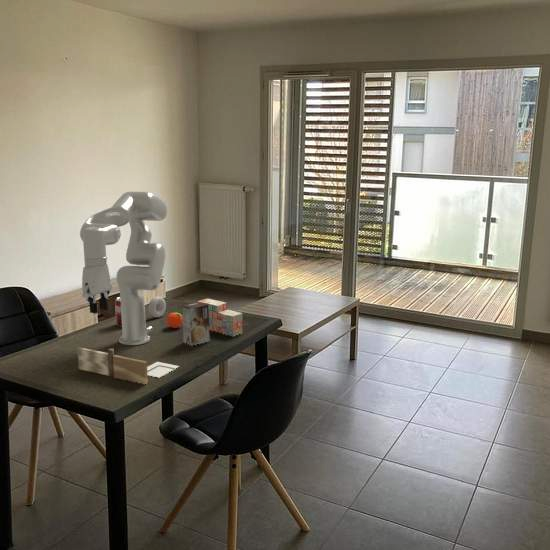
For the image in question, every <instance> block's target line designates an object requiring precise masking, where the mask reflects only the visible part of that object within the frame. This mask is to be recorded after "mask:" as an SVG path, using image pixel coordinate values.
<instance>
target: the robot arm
mask: <svg viewBox="0 0 550 550" xmlns="http://www.w3.org/2000/svg"><path fill="white" fill-rule="evenodd" d="M167 213H168V207H167V205H166V203H165V201H163V200H162V199H161V198H160V197H158V195H156V194H154V193H153V192H148V191H127V192H124V193H122V195H121V196H120V197H119V198H118V199H117V200H116V201H115V202H114V203H113V204H112V206H111V207H109V208H106V209H104V210H102V211H99V212H95V213H94V214H93V215H91V216H89V218H87V219H86V220H85V222H84V223H83V224H82V225H81V228H80V231H79V235H80V239H81V241H82V243H83V258H84V259H83V260H84V266H83V269H82V275H81V276H82V277H81V279H82V280H81V282H82V283H81V286H82V288H81V289H82V298H83V299H85V300H86V301H87V303H88V304H89V313H90V314H98V313H99V311H98V309H99V310H102V311H103V310H104V311H108V307H109V306H108V299H109V295H110V293H111V291H112V289H113V286H112V285H111V276H110V270H109V266H108V261H107V259H108V257H107V247H106V246H111V245H115V244H117V243H118V242H119V241H120V239H121V237H122V235H121V234H122V233H121V229H120V227H122V226H123V227H124V226H125V225H127V224H128V223H129V228H130V236H129V240H128V244H127V249H126V253H125V259H126V261H127V263H129V264H130V265H126V266H125V265H124V266H122V267H120V268H119V269H117V272H116V282H117V286H118V290H119V298H120V300H121V316H122V327H121V328H122V329H121V330H122V331H121V333H122V335H121V336H120V337H119V338H118V342H119V343H120V344H122V345H125V346H138V345H139V346H140V345H143V344H147V343H148V342H150V341H151V336H150V335H149V334H148V333H149V332H151V331H153V327H152V326H151V325H150V326H147V323H146V308H145V307H146V305H145V297H144V295H143V293H142V292H141V291H155V290H157V289H158V288H159V286H160V284H161V279H162V275H163V270H164V266H165V261H166V250H165V248H164V246H163V244H161V243H158V242H151V241H152V235H153V234H152V231H151V229H150V227H149V226H148V225H147V224H146V222H145V221H147V222H149V221H151V222H153V221H154V222H160V221H163V220H165V218H166V217H167ZM98 294H99V297H100V298H99V300H98V301H99V306H98V302H97V295H98ZM98 307H99V308H98Z"/></svg>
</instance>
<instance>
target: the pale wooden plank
mask: <svg viewBox="0 0 550 550" xmlns="http://www.w3.org/2000/svg"><path fill="white" fill-rule="evenodd" d="M77 359H78V361H77V363H78V369H79V370H81V371H86V372H91V373H94V374H100V375H104V376H108V377H110V375H109V360H108V352H106V351H100V350H99V351H98V350H95V349H89V348H86V347H80V346H78V347H77Z"/></svg>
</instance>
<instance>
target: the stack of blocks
mask: <svg viewBox="0 0 550 550" xmlns="http://www.w3.org/2000/svg"><path fill="white" fill-rule="evenodd" d="M197 302H202V303H205V304H208V308H209V331H210V330H212V331H211V332H213V331H216V332H215V333H217V332H219V333H218V334H221V333H222V334H221V335H224V334H225V335H224V336H228V335H229V336H228V337H231V336H232V338H234V337H236V335H237V336H239V334H240V335H242V334H243V312H240V311H235V310H231V309H228V303H227V302H226V301H225V302H224V301H220V300H215V299H212V298H205V299H201V300H197Z"/></svg>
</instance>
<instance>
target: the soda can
mask: <svg viewBox="0 0 550 550" xmlns="http://www.w3.org/2000/svg"><path fill="white" fill-rule="evenodd" d="M114 304H115V305H114V306H115V309H114V310H115V323H116V326H118V327H119V326H120V328H122V316H121V300H120V297H117V298H116V299H115V300H114Z"/></svg>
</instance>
